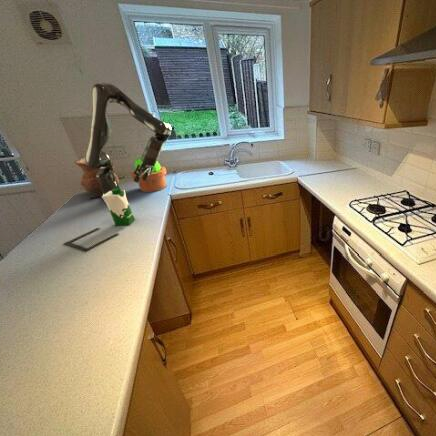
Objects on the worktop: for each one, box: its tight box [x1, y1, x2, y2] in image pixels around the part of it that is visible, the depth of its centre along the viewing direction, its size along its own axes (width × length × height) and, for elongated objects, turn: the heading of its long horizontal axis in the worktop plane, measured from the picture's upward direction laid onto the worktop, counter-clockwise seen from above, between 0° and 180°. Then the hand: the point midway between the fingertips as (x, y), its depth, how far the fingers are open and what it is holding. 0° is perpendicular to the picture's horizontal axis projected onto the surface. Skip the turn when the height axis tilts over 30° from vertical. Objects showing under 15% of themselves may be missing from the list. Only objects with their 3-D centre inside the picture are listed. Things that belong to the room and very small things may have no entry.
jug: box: [74, 157, 120, 197], centre depth 170 cm, size 22×21×25 cm
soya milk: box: [100, 187, 136, 227], centre depth 129 cm, size 9×9×20 cm
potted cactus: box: [130, 155, 168, 193], centre depth 175 cm, size 22×22×25 cm
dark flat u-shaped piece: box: [63, 227, 119, 252], centre depth 120 cm, size 17×16×1 cm
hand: (139, 180), depth 136 cm, fingers open, 8 cm apart
